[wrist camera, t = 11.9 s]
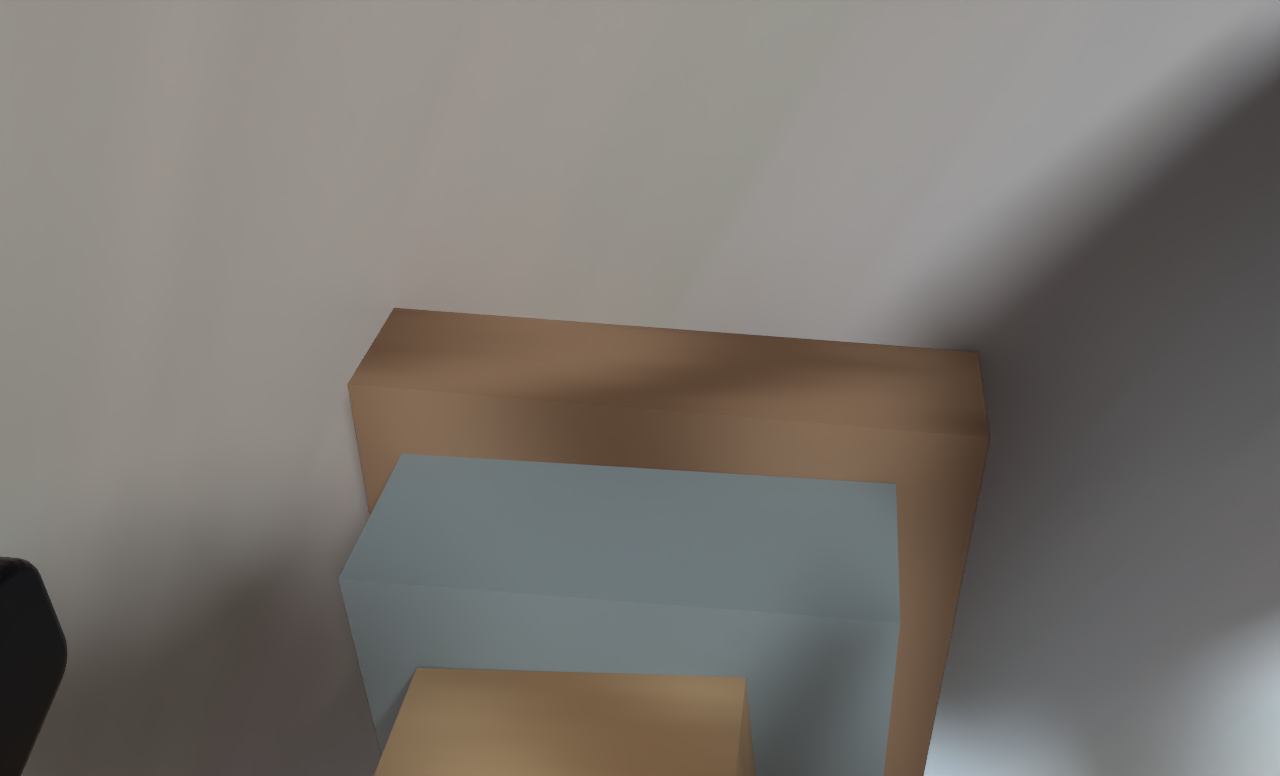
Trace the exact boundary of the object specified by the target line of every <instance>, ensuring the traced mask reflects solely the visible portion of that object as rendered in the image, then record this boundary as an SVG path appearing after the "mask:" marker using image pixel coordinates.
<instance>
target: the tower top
mask: <svg viewBox="0 0 1280 776" xmlns="http://www.w3.org/2000/svg"><path fill="white" fill-rule="evenodd" d="M338 581H339V585H340V589H341V593H342V597H343V602H344V606H345V610H346V614H347V618H348V622H349V626H350V630H351V634H352V638H353V642H354V646H355V650H356V654H357V658H358V662H359V667H360V671H361V675H362V679H363V683H364V687H365V691H366V695H367V699H368V703H369V707H370V711H371V715H372V719H373V723H374V728H375V732H376V736H377V740H378V744H379V748H380V752H381V756H382V754H383V751H384V749H385V746H386V744H387V741H388V739H389V736H390V734H391V731H392V729H393V726H394V724H395V721H396V718H397V716H398V713H399V711H400V708H401V706H402V703H403V701H404V698H405V696H406V693H407V691H408V688H409V686H410V683H411V681H412V678H413V676H414V673H415V670H416V668H446V669H480V670H514V671H549V672H583V673H617V674H651V675H685V676H716V677H746V685H747V695H748V705H749V714H750V724H751V734H752V744H753V754H754V764H755V774H756V776H884V768H885V759H886V750H887V740H888V731H889V722H890V713H891V704H892V695H893V685H894V676H895V667H896V658H897V649H898V639H899V630H900V596H899V563H898V530H897V497H896V484H890V483H874V482H858V481H842V480H825V479H809V478H793V477H777V476H760V475H744V474H728V473H712V472H695V471H679V470H663V469H647V468H631V467H614V466H598V465H582V464H566V463H549V462H533V461H516V460H499V459H483V458H466V457H449V456H432V455H416V454H401V456H400V458H399V460H398V462H397V464H396V466H395V468H394V470H393V472H392V474H391V476H390V478H389V480H388V482H387V484H386V486H385V488H384V490H383V492H382V493H381V495H380V497H379V499H378V501H377V503H376V505H375V507H374V509H373V511H372V513H371V515H370V517H369V519H368V521H367V523H366V525H365V527H364V529H363V531H362V533H361V535H360V537H359V539H358V541H357V543H356V545H355V547H354V548H353V550H352V552H351V554H350V556H349V558H348V560H347V562H346V564H345V566H344V568H343V570H342V572H341V574H340V576H339V578H338Z"/></svg>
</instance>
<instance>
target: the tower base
mask: <svg viewBox="0 0 1280 776" xmlns="http://www.w3.org/2000/svg"><path fill="white" fill-rule="evenodd" d="M348 390H349V395H350V401H351V407H352V413H353V419H354V425H355V431H356V436H357V442H358V448H359V454H360V460H361V466H362V472H363V477H364V483H365V489H366V495H367V501H368V507H369V513H370V515H371V513H372V511H373V509H374V507H375V505H376V503H377V501H378V499H379V497H380V495H381V493H382V492H383V490H384V488H385V486H386V484H387V482H388V480H389V478H390V476H391V474H392V472H393V470H394V468H395V466H396V464H397V462H398V460H399V458H400V456H401V454H416V455H432V456H449V457H466V458H483V459H499V460H516V461H533V462H549V463H566V464H582V465H598V466H614V467H631V468H647V469H663V470H679V471H695V472H712V473H728V474H744V475H760V476H777V477H793V478H809V479H825V480H842V481H858V482H874V483H890V484H896V497H897V530H898V563H899V596H900V630H899V639H898V649H897V658H896V667H895V676H894V685H893V695H892V704H891V713H890V722H889V731H888V740H887V750H886V759H885V768H884V776H923V775H924V770H925V765H926V760H927V755H928V750H929V745H930V739H931V734H932V729H933V724H934V719H935V714H936V709H937V704H938V699H939V694H940V689H941V684H942V679H943V674H944V669H945V663H946V658H947V653H948V648H949V643H950V638H951V633H952V628H953V623H954V618H955V613H956V608H957V603H958V598H959V593H960V587H961V582H962V577H963V572H964V567H965V562H966V557H967V552H968V547H969V542H970V537H971V532H972V527H973V522H974V517H975V511H976V506H977V501H978V496H979V491H980V486H981V481H982V476H983V471H984V466H985V461H986V456H987V451H988V446H989V440H990V434H989V427H988V420H987V413H986V406H985V398H984V391H983V384H982V377H981V370H980V363H979V356H978V352H971V351H958V350H944V349H931V348H918V347H905V346H891V345H878V344H865V343H852V342H838V341H825V340H812V339H799V338H785V337H772V336H759V335H746V334H732V333H719V332H706V331H693V330H679V329H666V328H653V327H639V326H626V325H613V324H600V323H586V322H573V321H560V320H547V319H533V318H520V317H507V316H494V315H480V314H467V313H454V312H441V311H427V310H414V309H401V308H394V309H393V311H392V312H391V314H390V316H389V317H388V319H387V320H386V322H385V324H384V325H383V327H382V329H381V330H380V332H379V334H378V335H377V337H376V338H375V340H374V342H373V343H372V345H371V347H370V348H369V350H368V352H367V353H366V355H365V356H364V358H363V360H362V361H361V363H360V365H359V366H358V368H357V370H356V371H355V373H354V374H353V376H352V378H351V379H350V381H349V383H348Z"/></svg>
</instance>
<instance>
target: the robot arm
mask: <svg viewBox="0 0 1280 776" xmlns="http://www.w3.org/2000/svg"><path fill="white" fill-rule="evenodd" d="M66 663H67V644H66V639H65V636H64V633H63V631H62V628H61V626H60V623H59V621H58V618H57V616H56V613H55V611H54V608H53V606H52V603H51V600H50V598H49V595H48V593H47V590H46V588H45V585H44V583H43V580H42V578H41V575H40V573H39V572H38V570H37V568H36V567H35V566H33V565H32V564H31V563H30V562H29V561H26V560H24V559H20V558H10V557H0V776H21V774H22V772H23V769H24V767H25V765H26V762H27V760H28V758H29V755H30V753H31V751H32V748H33V746H34V744H35V741H36V739H37V737H38V734H39V732H40V730H41V727H42V725H43V723H44V720H45V718H46V716H47V713H48V711H49V709H50V706H51V704H52V702H53V699H54V697H55V694H56V692H57V690H58V687H59V685H60V683H61V680H62V678H63V675H64V671H65V667H66Z"/></svg>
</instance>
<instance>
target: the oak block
mask: <svg viewBox="0 0 1280 776" xmlns="http://www.w3.org/2000/svg"><path fill="white" fill-rule="evenodd" d="M374 776H756V774H755V764H754V754H753V744H752V734H751V724H750V714H749V705H748V695H747V685H746V677H716V676H685V675H651V674H617V673H583V672H549V671H514V670H480V669H446V668H416V670H415V673H414V676H413V678H412V681H411V683H410V686H409V688H408V691H407V693H406V696H405V698H404V701H403V703H402V706H401V708H400V711H399V713H398V716H397V718H396V721H395V724H394V726H393V729H392V731H391V734H390V736H389V739H388V741H387V744H386V746H385V749H384V751H383V754H382V756H381V759H380V761H379V764H378V766H377V769H376V772H375V774H374Z"/></svg>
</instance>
